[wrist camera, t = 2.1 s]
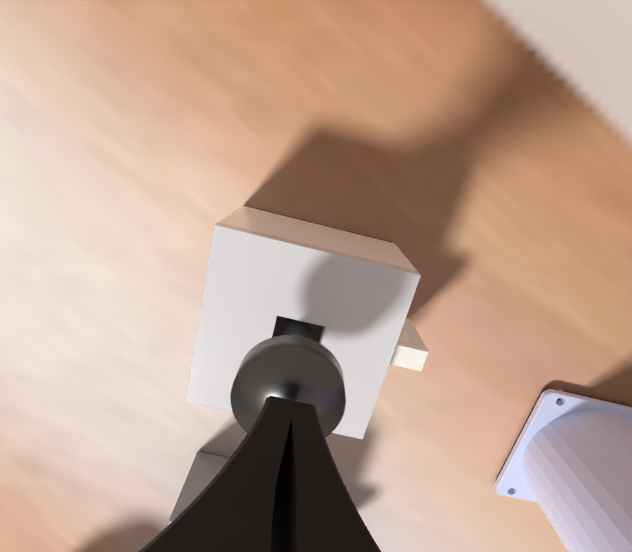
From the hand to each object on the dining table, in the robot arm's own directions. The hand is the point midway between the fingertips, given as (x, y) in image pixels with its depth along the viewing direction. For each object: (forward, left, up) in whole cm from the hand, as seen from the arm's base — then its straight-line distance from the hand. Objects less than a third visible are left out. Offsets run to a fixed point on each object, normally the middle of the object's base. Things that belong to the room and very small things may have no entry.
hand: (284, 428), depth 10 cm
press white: (0, 0, -10) cm, 10 cm away
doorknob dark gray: (0, 0, -6) cm, 6 cm away
